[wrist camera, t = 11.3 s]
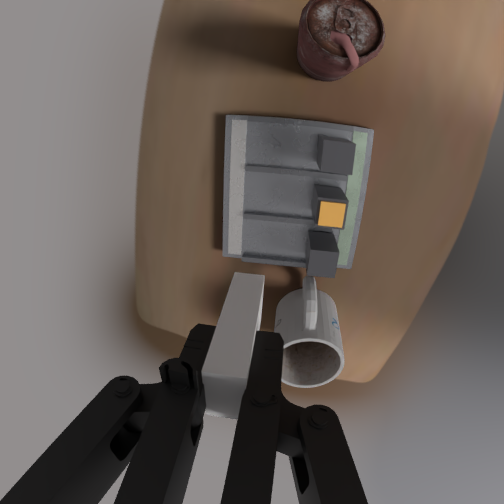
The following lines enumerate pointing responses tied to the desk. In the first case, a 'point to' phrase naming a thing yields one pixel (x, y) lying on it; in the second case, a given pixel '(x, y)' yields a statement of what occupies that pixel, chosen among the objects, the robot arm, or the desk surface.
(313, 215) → the block
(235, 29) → the desk surface
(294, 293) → the mug
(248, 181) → the panel
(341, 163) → the block
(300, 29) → the can
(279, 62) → the desk surface
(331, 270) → the breaker
